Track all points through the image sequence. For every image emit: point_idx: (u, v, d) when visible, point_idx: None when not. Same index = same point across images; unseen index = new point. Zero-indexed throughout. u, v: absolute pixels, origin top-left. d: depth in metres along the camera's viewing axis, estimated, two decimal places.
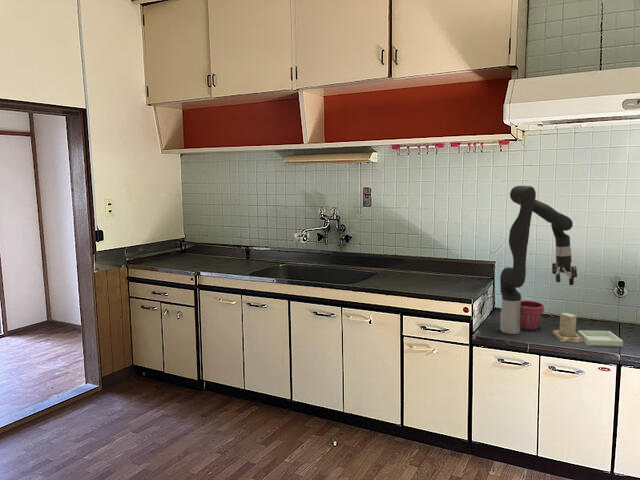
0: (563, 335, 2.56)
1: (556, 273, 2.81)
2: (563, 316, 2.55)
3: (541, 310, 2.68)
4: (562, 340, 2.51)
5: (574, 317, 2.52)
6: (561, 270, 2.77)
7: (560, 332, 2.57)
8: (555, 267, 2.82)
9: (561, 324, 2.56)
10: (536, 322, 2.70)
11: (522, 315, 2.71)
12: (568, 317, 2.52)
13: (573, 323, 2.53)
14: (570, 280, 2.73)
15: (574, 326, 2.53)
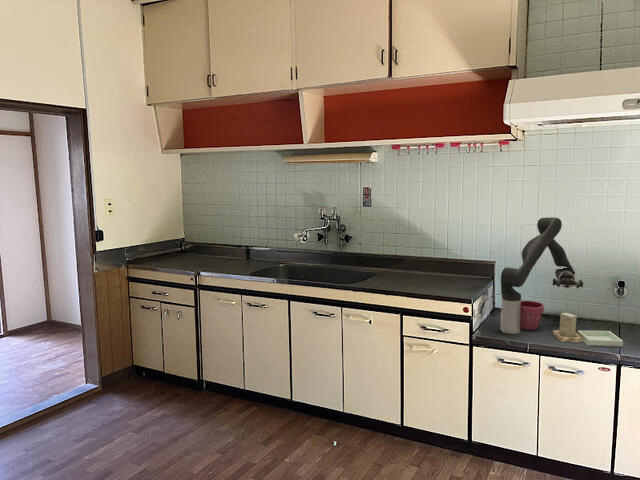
0: (563, 335, 2.56)
1: (558, 280, 2.70)
2: (563, 316, 2.55)
3: (541, 310, 2.68)
4: (562, 340, 2.51)
5: (574, 317, 2.52)
6: (565, 280, 2.70)
7: (560, 332, 2.57)
8: (555, 281, 2.73)
9: (561, 324, 2.56)
10: (536, 322, 2.70)
11: (522, 315, 2.71)
12: (568, 317, 2.53)
13: (573, 323, 2.53)
14: (578, 283, 2.64)
15: (574, 326, 2.53)
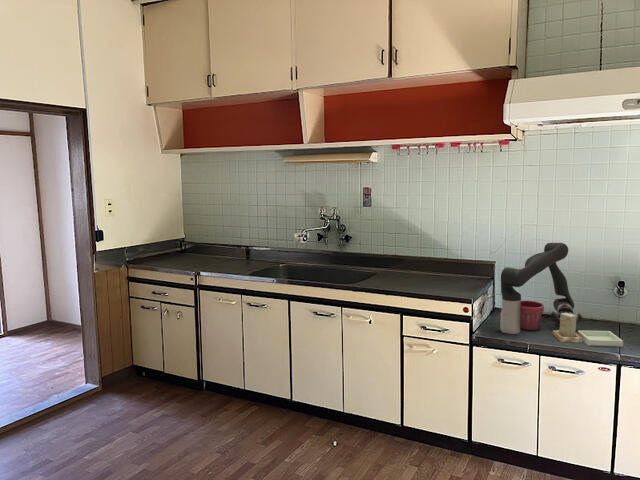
0: (563, 335, 2.56)
1: (557, 314, 2.69)
2: (563, 316, 2.55)
3: (541, 310, 2.68)
4: (562, 340, 2.51)
5: (574, 317, 2.52)
6: None
7: (560, 332, 2.57)
8: (553, 314, 2.72)
9: (561, 324, 2.57)
10: (536, 322, 2.70)
11: (522, 315, 2.71)
12: (568, 317, 2.53)
13: (573, 323, 2.53)
14: (576, 317, 2.64)
15: (574, 326, 2.53)
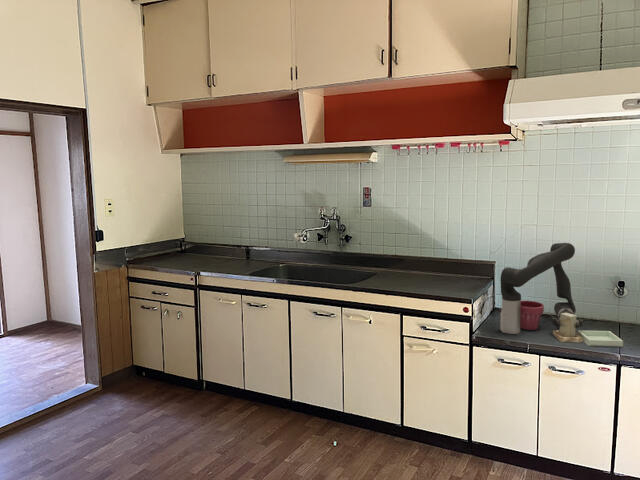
0: (563, 335, 2.56)
1: (559, 319, 2.60)
2: (563, 316, 2.55)
3: (541, 310, 2.68)
4: (562, 340, 2.51)
5: (574, 317, 2.52)
6: None
7: (560, 332, 2.57)
8: (554, 320, 2.63)
9: (561, 324, 2.56)
10: (536, 322, 2.70)
11: (522, 315, 2.71)
12: (568, 317, 2.52)
13: (573, 323, 2.53)
14: (577, 323, 2.54)
15: (574, 326, 2.53)
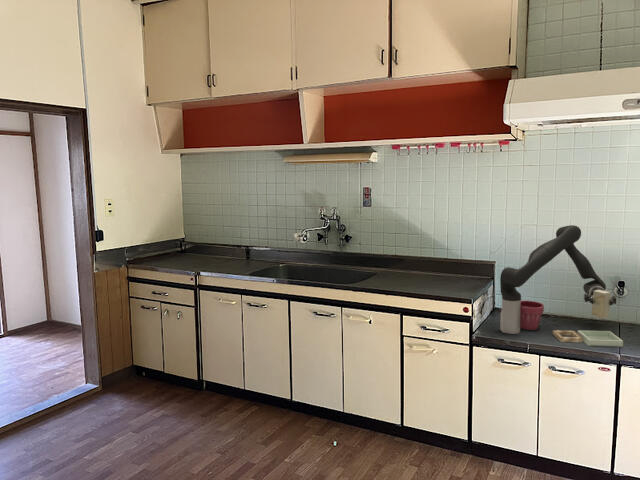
0: (596, 313, 2.49)
1: (591, 297, 2.52)
2: (596, 293, 2.48)
3: (541, 310, 2.68)
4: (562, 340, 2.51)
5: (608, 294, 2.45)
6: None
7: (593, 310, 2.50)
8: None
9: (594, 301, 2.49)
10: (536, 322, 2.70)
11: (522, 315, 2.71)
12: (602, 294, 2.45)
13: (607, 300, 2.46)
14: (611, 300, 2.47)
15: (608, 303, 2.46)
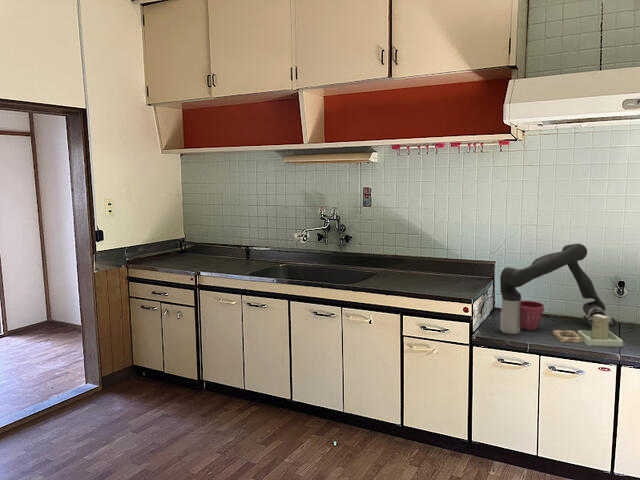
0: (596, 337, 2.50)
1: (590, 318, 2.54)
2: (596, 317, 2.49)
3: (541, 310, 2.68)
4: (562, 340, 2.51)
5: (607, 319, 2.47)
6: None
7: (592, 334, 2.52)
8: (585, 319, 2.57)
9: (593, 326, 2.51)
10: (536, 322, 2.70)
11: (522, 315, 2.71)
12: (601, 319, 2.47)
13: (607, 324, 2.47)
14: (611, 322, 2.49)
15: (607, 328, 2.48)
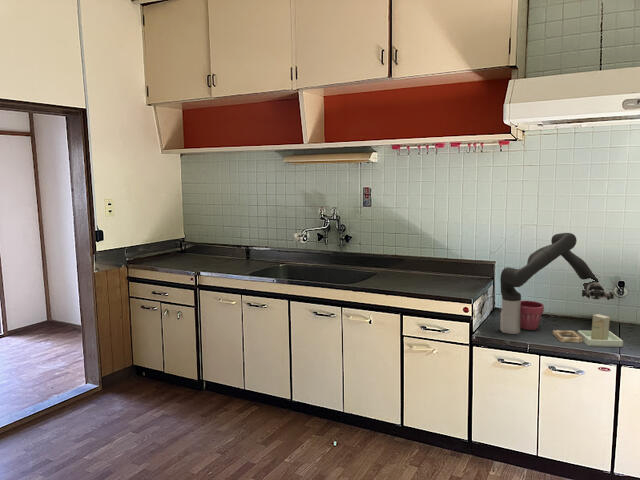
0: (596, 337, 2.50)
1: (588, 292, 2.64)
2: (596, 317, 2.49)
3: (541, 310, 2.68)
4: (562, 340, 2.51)
5: (607, 319, 2.47)
6: (595, 291, 2.65)
7: (592, 334, 2.52)
8: (584, 292, 2.68)
9: (593, 326, 2.51)
10: (536, 322, 2.70)
11: (522, 315, 2.71)
12: (601, 319, 2.47)
13: (607, 324, 2.47)
14: (608, 295, 2.59)
15: (607, 328, 2.48)
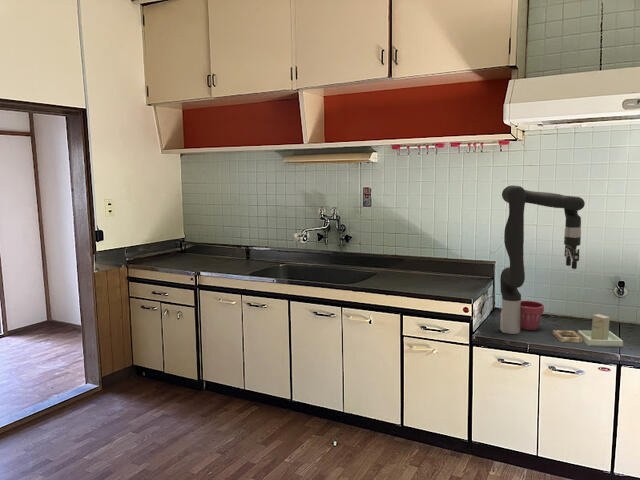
0: (596, 337, 2.50)
1: (566, 256, 2.69)
2: (596, 317, 2.49)
3: (541, 310, 2.68)
4: (562, 340, 2.51)
5: (607, 319, 2.47)
6: (568, 252, 2.65)
7: (592, 334, 2.52)
8: None
9: (593, 326, 2.51)
10: (536, 322, 2.70)
11: (522, 315, 2.71)
12: (601, 319, 2.47)
13: (607, 324, 2.47)
14: (572, 263, 2.60)
15: (607, 328, 2.48)
